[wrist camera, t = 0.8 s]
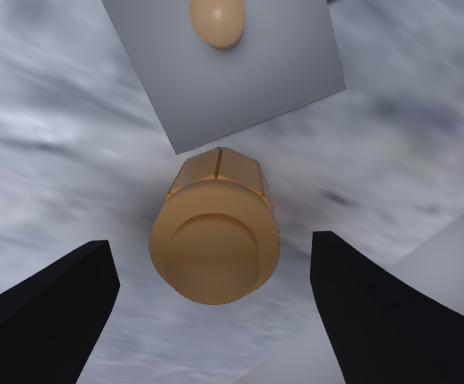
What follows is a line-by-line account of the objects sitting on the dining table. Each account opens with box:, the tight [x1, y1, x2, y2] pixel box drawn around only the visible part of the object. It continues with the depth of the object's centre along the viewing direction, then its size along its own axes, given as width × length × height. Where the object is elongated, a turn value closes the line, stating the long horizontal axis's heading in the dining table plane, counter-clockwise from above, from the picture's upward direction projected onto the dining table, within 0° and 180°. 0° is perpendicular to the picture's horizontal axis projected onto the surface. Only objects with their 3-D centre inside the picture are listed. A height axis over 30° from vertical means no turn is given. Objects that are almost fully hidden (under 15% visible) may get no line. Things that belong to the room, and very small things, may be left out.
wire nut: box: [149, 147, 280, 305], centre depth 12 cm, size 5×5×6 cm
